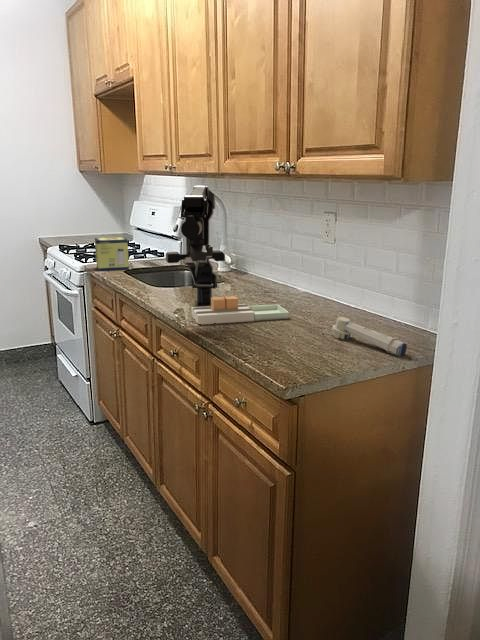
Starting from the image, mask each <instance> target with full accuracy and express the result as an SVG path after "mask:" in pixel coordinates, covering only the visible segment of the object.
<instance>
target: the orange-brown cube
mask: <svg viewBox="0 0 480 640" xmlns="http://www.w3.org/2000/svg"><path fill="white" fill-rule="evenodd" d="M210 306H211V309H212V310H225V299H224V296H215V297H214V296H212V297H211V305H210Z"/></svg>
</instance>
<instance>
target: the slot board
mask: <svg viewBox="0 0 480 640" xmlns="http://www.w3.org/2000/svg"><path fill="white" fill-rule="evenodd" d="M248 306H249V305H248V304H245V303H244V304H243V303H242V304H239V303H238V309H228V310H212V309H211V305H203V306H193V307H191V317H192V318H193V320H194V319H195V320H194V321H195V322H196V324H197V323H198V324H201V325H214V323H216V324H227V323H228V324H229V323H244V322H255V320H254V311H252V308H249V307H248ZM198 324H197V325H198Z"/></svg>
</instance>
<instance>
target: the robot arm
mask: <svg viewBox="0 0 480 640" xmlns="http://www.w3.org/2000/svg"><path fill="white" fill-rule="evenodd" d="M192 190H193V191H191V193H190V194H185V195H184V196H183V198H182V199H181V205H180V218H182V219H183V218H185V220H184V222H183V223H182V224H181V227H180V230H181V234H182V235H183V236H184V237H185V243H186V244H185V245H186V246H185V247H186V248H185V250H186V252H185V253H179V252H178V251H167V252H166V253H165V261H166V262H167V263H168V264H178V263H179V262H180V261H182V263H183V264H184V265H185V266H187V267H188V269H189V272H190V274H191V284H192V286H191V287H192V289H196V300H194V303H195V304H196V306H211V297H213V290H214V289H216V288H218V277H217V275H216V273H215V271H214V266H213V265H212V263H211V261H210V260H214V261H215V262H225V261H226V256H225V255H226V254H225V253H224V252H223V251H221V249H220V250H219V249H218V250H217V249H216V250H214V247H213V245H212V244H210V221H211V218H212V217H213V215H214V213H215V212H214V210H215V209H216V196H215V193H213V192H212V191H211V190H210V189H209V186H208V185H204V184H203V185H199V184H197V185H194V186H193V189H192Z"/></svg>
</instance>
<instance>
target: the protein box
mask: <svg viewBox="0 0 480 640" xmlns="http://www.w3.org/2000/svg"><path fill="white" fill-rule="evenodd" d="M128 243H129V242H128V239H127V238H126V237H125V236H119V237H117V236H116V237H95V238H94V246H95V258H96V259H95V261H96V269H97V271H98V272H111V271H112V272H114V271H128V270H130V266H129V265H130V261H129V249H128V247H129V246H128V245H129V244H128Z"/></svg>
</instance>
